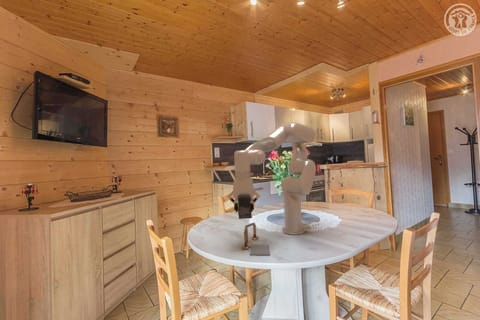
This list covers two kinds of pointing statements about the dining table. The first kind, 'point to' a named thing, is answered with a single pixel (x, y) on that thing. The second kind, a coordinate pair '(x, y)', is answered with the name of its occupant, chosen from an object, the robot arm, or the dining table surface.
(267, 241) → the dining table surface
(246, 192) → the robot arm
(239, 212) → the small box
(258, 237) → the bent rod
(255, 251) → the rubber pad
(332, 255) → the dining table surface
